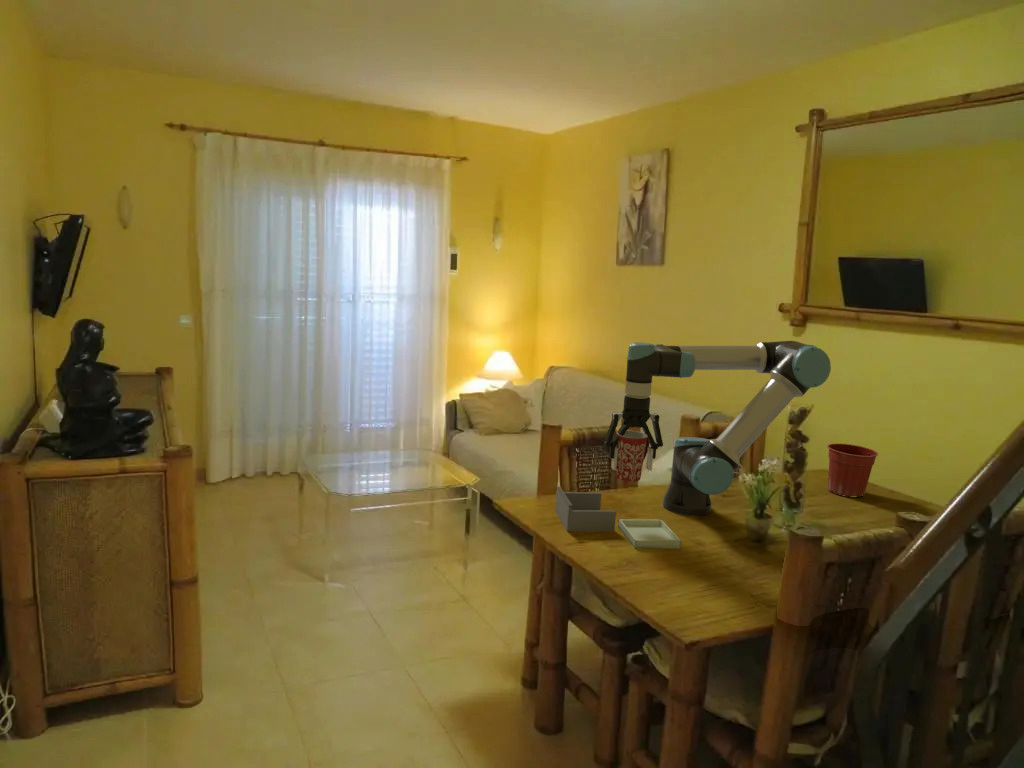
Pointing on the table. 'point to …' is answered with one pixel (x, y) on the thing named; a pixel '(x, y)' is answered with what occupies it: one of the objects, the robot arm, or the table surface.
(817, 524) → the table surface
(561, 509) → the bay
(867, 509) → the table surface
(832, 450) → the flower pot
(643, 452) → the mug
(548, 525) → the table surface
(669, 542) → the tray
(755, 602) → the table surface
